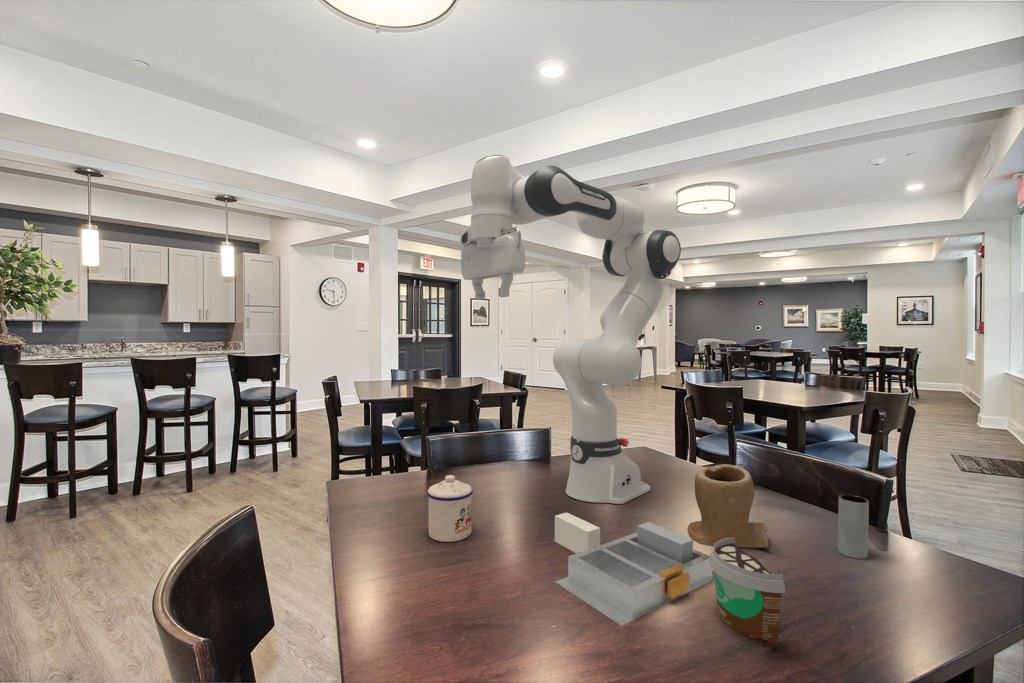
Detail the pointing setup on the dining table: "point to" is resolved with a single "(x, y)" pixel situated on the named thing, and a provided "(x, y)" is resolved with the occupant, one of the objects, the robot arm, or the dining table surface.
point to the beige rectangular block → (575, 533)
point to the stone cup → (726, 508)
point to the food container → (746, 592)
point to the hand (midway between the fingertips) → (491, 298)
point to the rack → (632, 578)
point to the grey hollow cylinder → (853, 526)
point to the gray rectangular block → (665, 542)
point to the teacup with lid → (449, 510)
